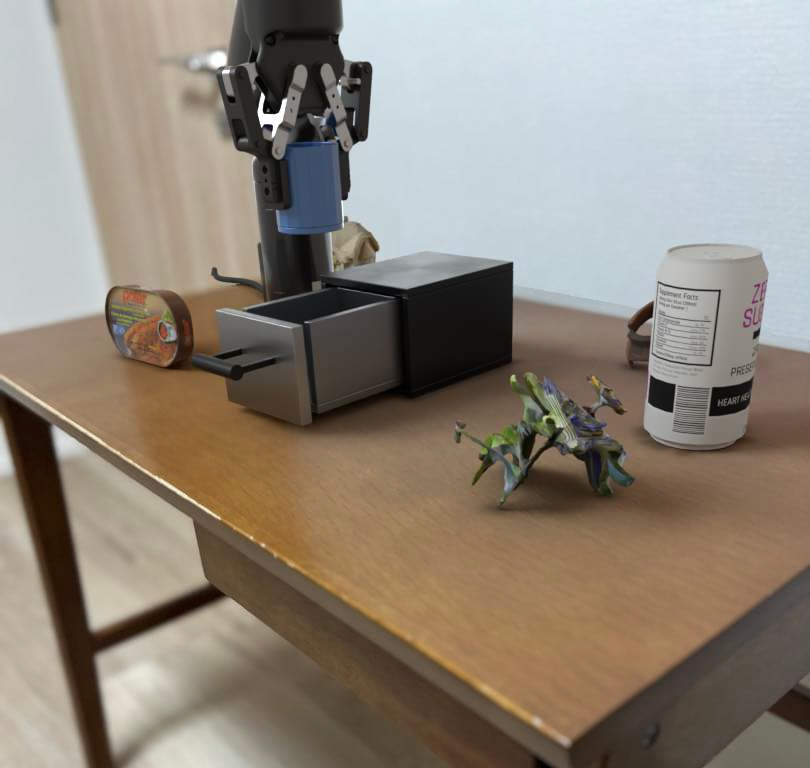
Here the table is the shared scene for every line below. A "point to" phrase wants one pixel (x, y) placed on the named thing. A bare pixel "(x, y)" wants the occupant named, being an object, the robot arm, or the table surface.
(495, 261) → the black drawer cabinet
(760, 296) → the supplement can
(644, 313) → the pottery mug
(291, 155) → the blue cup
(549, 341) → the table surface
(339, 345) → the dish drawer
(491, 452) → the passion flower
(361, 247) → the ceramic model
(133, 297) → the tin
